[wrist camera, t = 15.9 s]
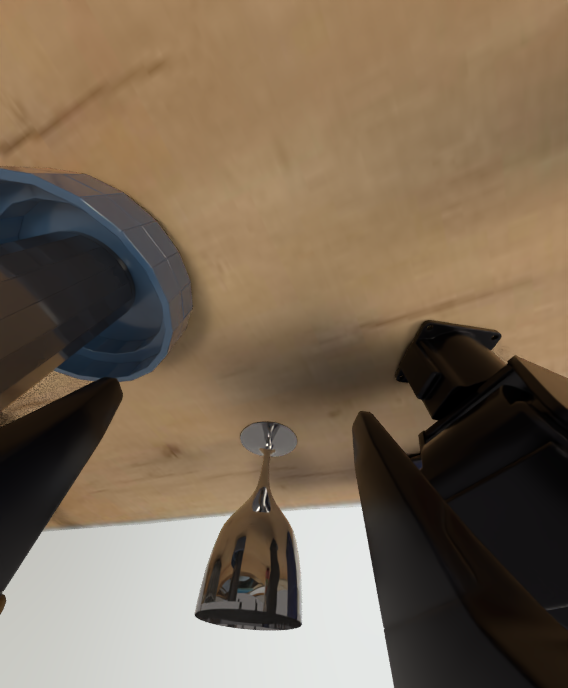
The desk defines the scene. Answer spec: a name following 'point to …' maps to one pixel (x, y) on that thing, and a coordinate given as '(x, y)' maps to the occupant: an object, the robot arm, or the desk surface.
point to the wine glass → (255, 552)
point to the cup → (55, 303)
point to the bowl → (127, 242)
